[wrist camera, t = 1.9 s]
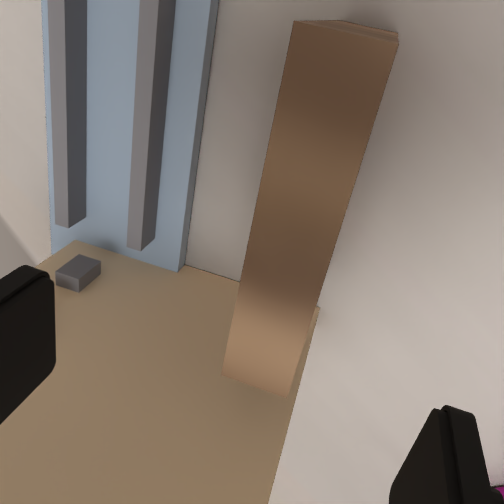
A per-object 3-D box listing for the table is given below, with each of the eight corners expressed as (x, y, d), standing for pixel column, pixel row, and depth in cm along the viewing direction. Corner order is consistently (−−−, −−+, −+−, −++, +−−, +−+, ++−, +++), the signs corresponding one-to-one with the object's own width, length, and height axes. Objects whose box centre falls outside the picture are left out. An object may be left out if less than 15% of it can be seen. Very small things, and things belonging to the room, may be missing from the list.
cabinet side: (50, -157, 23) (-929, -656, 6) (447, -88, 20) (735, -695, 3) (61, 247, 35) (-260, 465, 18) (313, 329, 32) (216, 687, 15)
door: (339, 20, 23) (293, 20, 13) (397, 33, 23) (398, 44, 12) (278, 263, 31) (218, 388, 20) (321, 277, 30) (282, 411, 20)
